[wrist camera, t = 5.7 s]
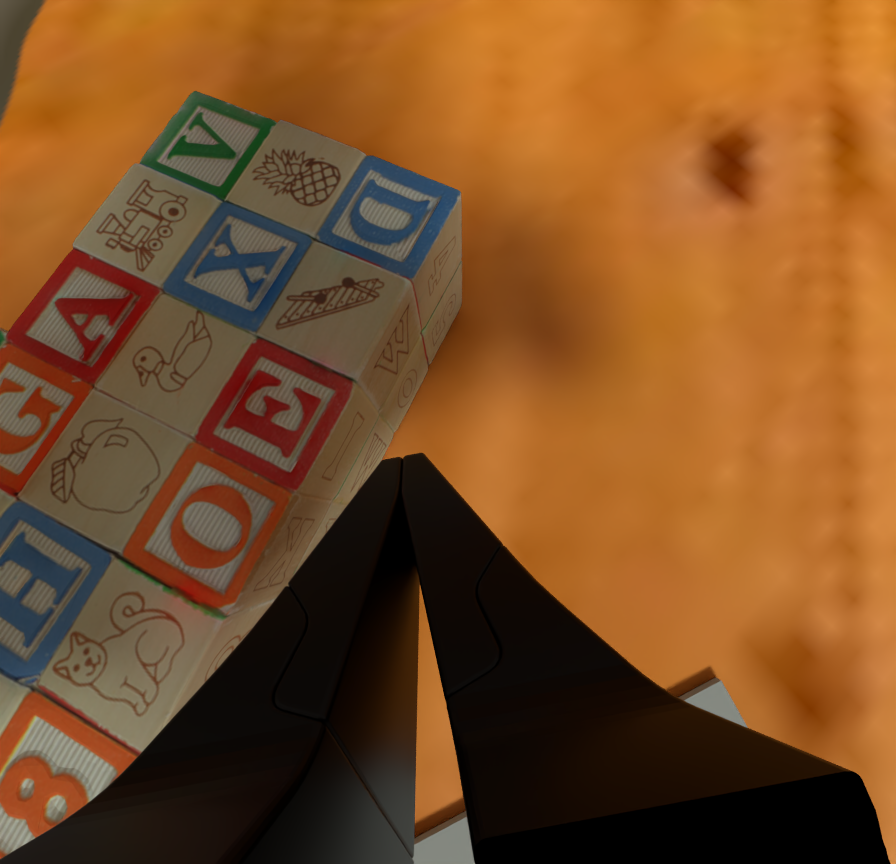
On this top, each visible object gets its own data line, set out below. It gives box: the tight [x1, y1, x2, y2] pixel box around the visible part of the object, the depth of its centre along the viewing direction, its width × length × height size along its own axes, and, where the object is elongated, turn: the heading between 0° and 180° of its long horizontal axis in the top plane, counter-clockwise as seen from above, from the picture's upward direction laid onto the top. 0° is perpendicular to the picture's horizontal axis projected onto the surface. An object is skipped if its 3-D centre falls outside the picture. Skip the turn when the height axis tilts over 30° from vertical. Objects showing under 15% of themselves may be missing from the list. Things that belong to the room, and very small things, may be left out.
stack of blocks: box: [0, 91, 462, 859], centre depth 13 cm, size 21×6×12 cm
